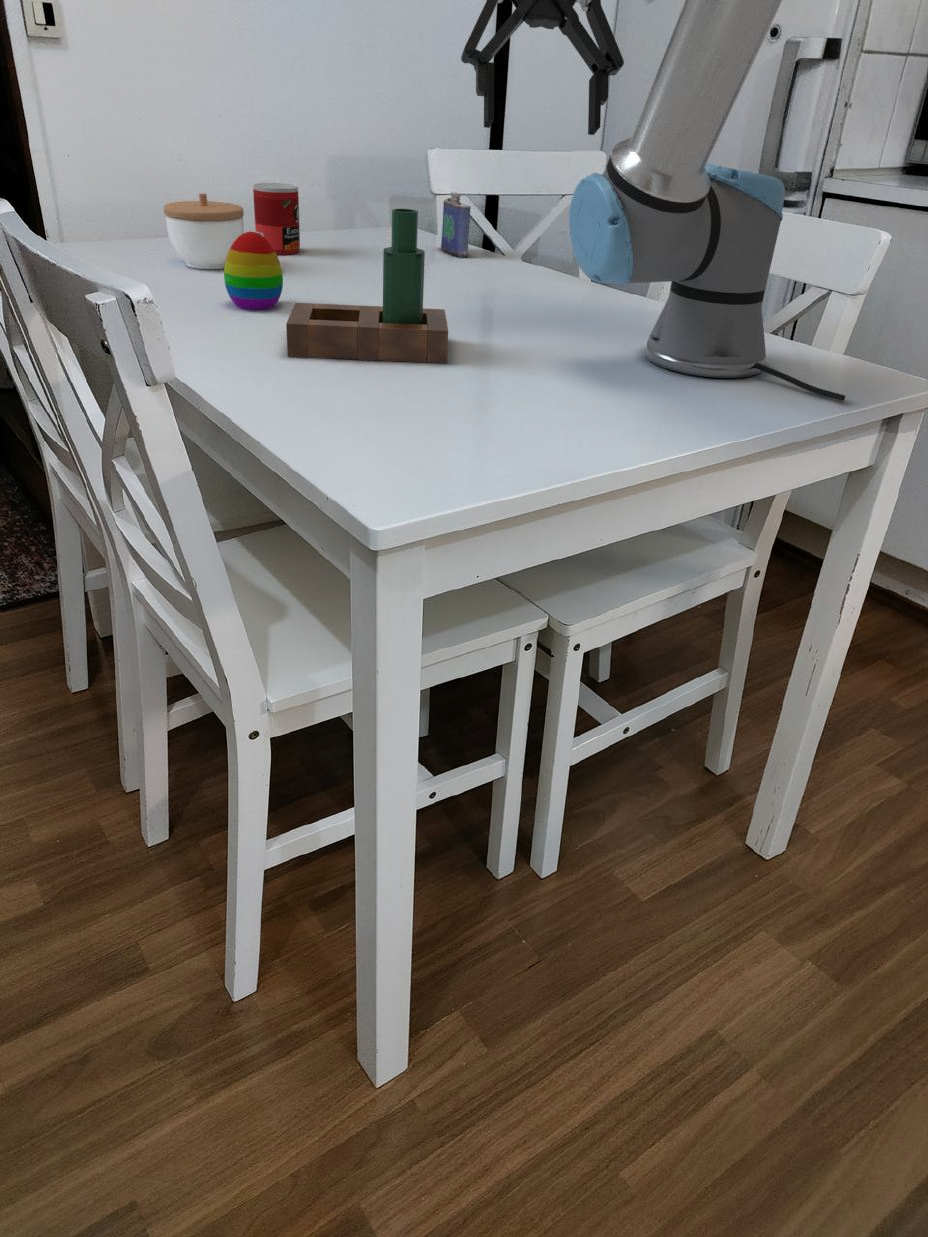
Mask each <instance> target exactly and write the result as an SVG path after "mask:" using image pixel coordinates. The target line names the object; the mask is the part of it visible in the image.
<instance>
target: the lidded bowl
mask: <svg viewBox="0 0 928 1237" xmlns="http://www.w3.org/2000/svg"><path fill="white" fill-rule="evenodd" d="M207 195H208V194H207V193H204V192H203V193H198V200H184V201H174V202H169V203H166V204H164V205H163V214H164V215H165V216H164V218H165V226H166V231H167V236H168V239H169V242H170V244H171V246H172V249H173V251H174V252H175V254H177V256H178V257H179V258H180V259H181V260H182V261H183V262H185V266H186V267H189V268H192V269H197V270H222V269H223V270H224V267H225V261H226V257H227V254H228V252H229V249H230V247H231V246H232V244H233V243H234V241H235V240H236V239H237V238H238V237H239V236H240V235H242V234H243V233H244V214H245V213H244V208H243V207H242V206H241V205H238V204H236V203H230V202H223V201H222V202H221V201H211V200H210V201H209V200H208V196H207Z"/></svg>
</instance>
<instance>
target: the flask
mask: <svg viewBox="0 0 928 1237" xmlns="http://www.w3.org/2000/svg"><path fill="white" fill-rule="evenodd" d="M449 194H450V195H451V197H447V198H445V199H444V200H443V207H442V210H443V211H442V228H441V243H440V250H441V251H442V252H444V253H447V254H449V255H451V256H453V257H459V258H465V257H466V258H468V256H469V240H470V238H469V237H470V236H469V235H470V221H471V205H468V204H464V203H461V202H460V201H461V196H462V193H461V192H460V193H458V192H453V191H450V193H449Z"/></svg>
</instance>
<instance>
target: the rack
mask: <svg viewBox="0 0 928 1237" xmlns="http://www.w3.org/2000/svg"><path fill="white" fill-rule="evenodd" d="M285 324H286V325H285V326H286V327H285V328H286V349H287V350H286V351H287V352H286V353H287V357H289V358H306V359H308V358H309V359H310V358H311V359H330V360H331V359H333V360H353V361H356V360H358V361H380V362H381V361H383V362H407V363H432V364H433V363H434V364H447V363H448V348H449V346H448V345H449V327H448V322H447V315H446V309H443V308H426V307H425V308H424V307H423V319H422V325H420V324H398V323H383V306H382V305H381V306H380V305H379V306H378V305H357V304H334V303H313V302H312V303H311V302H295V303H294V305H293V307H292V309H291V312H290V314H289V316H288V319H287V321H286V323H285Z"/></svg>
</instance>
